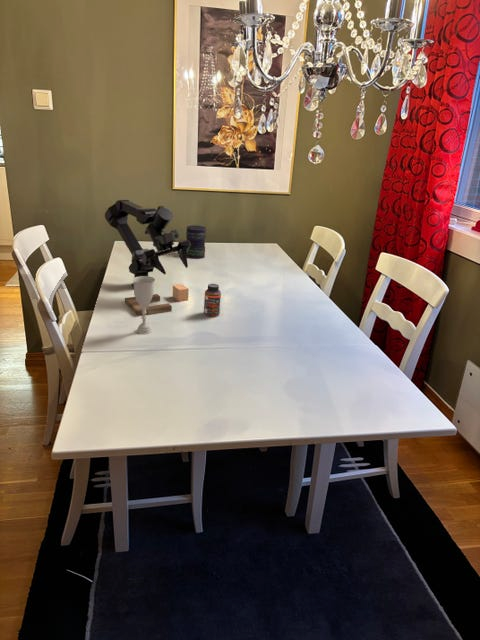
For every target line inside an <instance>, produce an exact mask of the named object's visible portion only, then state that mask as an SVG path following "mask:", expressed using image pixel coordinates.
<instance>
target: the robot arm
mask: <svg viewBox="0 0 480 640" xmlns="http://www.w3.org/2000/svg"><path fill="white" fill-rule="evenodd" d="M129 215H130V216H132V217H134V218H135V219H136V221H137V222H138V224H140V225H147V226H145V231H144V234H145V235H149V238H150V239H151V241H152V246H153V247H155V249H154V248H151V249H149V248H143V247H142V245H141V244H140V242H139V241H138V239H137V237H136V236H135V234H134V232H133V231H132V228H131V227H130V226H129V223H128V218H129V217H128V216H129ZM173 215H174V214H173V213H172V211H171V210H170V209H168V208H165V207H164V205H159V206H157V209H156V208H154V207H143V206H140V205H139V204H136V203H134V202H132V201H130V200H129V199H118V200H116V202H115V203H114V204H111V206H109V207H108V208H107V209H106V211H105V212H104V218H105V220H106V222H107V223H108V225H110V227H112V228H113V229H116V230H117V232H118V234H119V236H120V237H121V239H122V240H123V242H124V244H125V246H126V247H127V249H128V250H129V253H130V254H131V263H130V264H129V266H128V271H129V273H131V274H133V275H134V276H133V278H135V277H139V276H149V273H153V272H154V269H156V270H158V271H159V272H160V273H161V274H163V275H166V274H167V273H166V270H165V268H164V266H163V264H162V262H161V261H160V259H159V257H161V256H165V255H169V254H172V253H176V252H177V254H178V257H179V259H180V261H181V262H182V264H183V266H184V267H185V268H186V269H187V268H188V267H189V266H188V265H189V264H188V257H187V256H186V254H187V252H188V251H189V249H190V246H191V244H190V242H189V241H188V240H187V239H184V240H181V241H178V243H177V245H175V242H176V240H177V239H179V237H180V235H179V232H178V231H177V229H172V230H170V232H165V230H164V229H166V228H167V227H168V225H169V224H170V223H171V221H172V220H173V217H174V216H173ZM174 245H175V246H174ZM156 250H157V251H156ZM131 286H133V287H134V282H132V283H131Z"/></svg>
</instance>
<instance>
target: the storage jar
mask: <svg viewBox="0 0 480 640" xmlns="http://www.w3.org/2000/svg"><path fill="white" fill-rule="evenodd" d="M206 229H207V227H206V226H202V225H195V224H193V225H187V226H186V234H185V235H186V237H185V238H186V240H188V241H189V242H190V244H191V246H190V249H189V251H188V252H187V254H186V256H187V259H192V260H201V259H204V258H205V257H206V237H207V233H206V232H207V231H206Z"/></svg>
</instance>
